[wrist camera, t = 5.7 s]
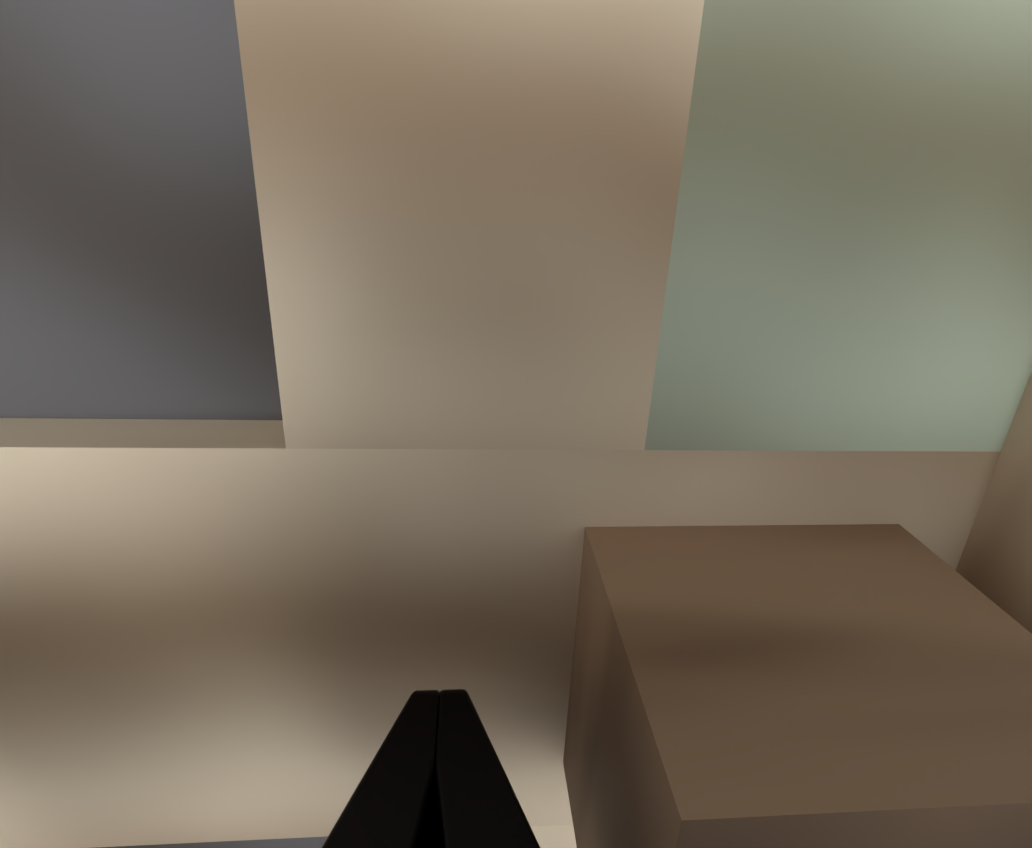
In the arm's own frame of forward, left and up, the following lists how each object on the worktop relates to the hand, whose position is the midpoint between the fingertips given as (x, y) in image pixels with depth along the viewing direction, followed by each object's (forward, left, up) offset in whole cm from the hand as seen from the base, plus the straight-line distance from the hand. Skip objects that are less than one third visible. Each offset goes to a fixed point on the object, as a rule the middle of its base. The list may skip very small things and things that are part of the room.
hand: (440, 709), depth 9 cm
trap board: (0, 0, -2) cm, 2 cm away
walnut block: (0, -5, -1) cm, 5 cm away
